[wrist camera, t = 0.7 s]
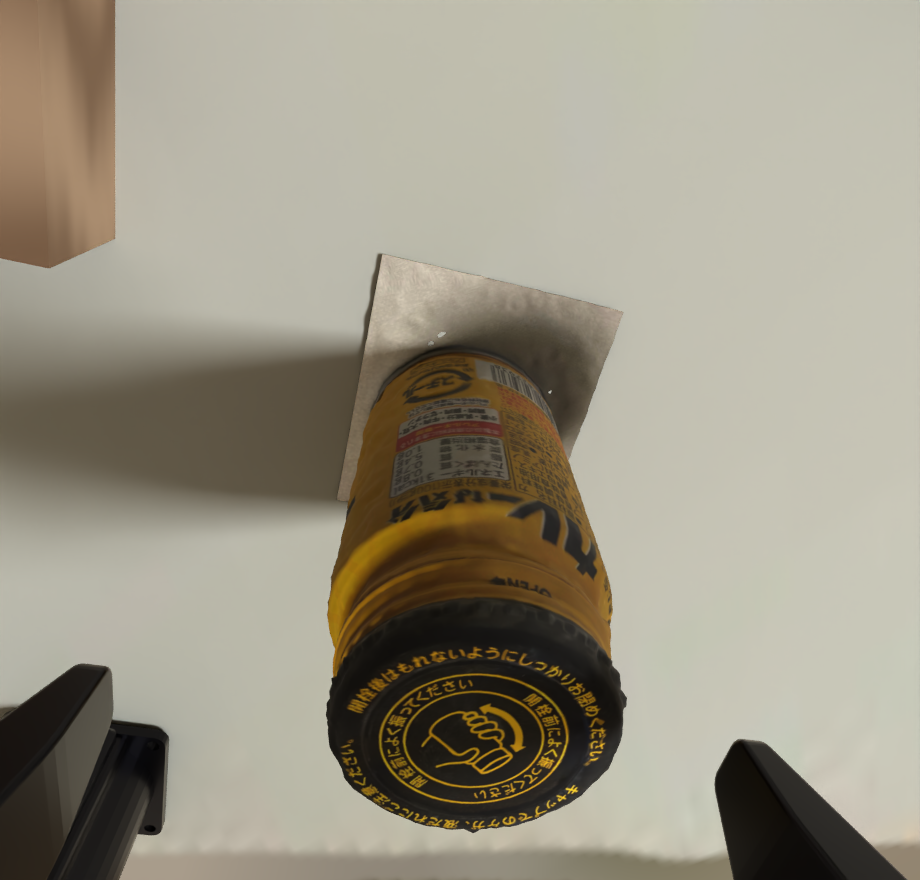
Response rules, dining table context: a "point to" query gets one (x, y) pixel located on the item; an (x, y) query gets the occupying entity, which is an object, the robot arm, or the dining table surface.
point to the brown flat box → (56, 128)
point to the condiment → (471, 557)
